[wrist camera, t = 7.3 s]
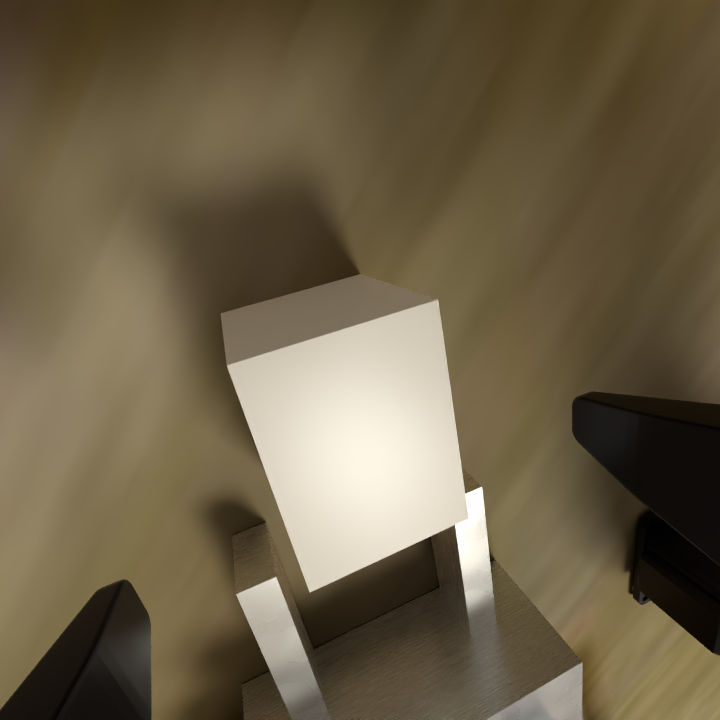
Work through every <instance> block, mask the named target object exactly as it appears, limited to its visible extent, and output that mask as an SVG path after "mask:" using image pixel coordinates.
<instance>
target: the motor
mask: <svg viewBox="0 0 720 720" xmlns="http://www.w3.org/2000/svg"><path fill="white" fill-rule="evenodd" d="M462 474H463V481H464V488H465V495H466V502H467V509H468V517H469V519H466V520H464V521H462V522H460V523H458V524H456V525H454V526H451V527H449V528H447V529H445V530H443V531H441V532H439V533H436V534H434V535H432V536H431V542H432V548H433V553H434V559H435V565H436V570H437V576H438V582H439V588H437V589H435V590H433V591H431V592H429V593H427V594H425V595H423V596H421V597H419V598H417V599H415V600H413V601H411V602H409V603H407V604H405V605H403V606H401V607H398V608H396V609H394V610H392V611H390V612H388V613H386V614H384V615H382V616H380V617H378V618H376V619H374V620H372V621H370V622H368V623H366V624H364V625H362V626H360V627H358V628H356V629H354V630H352V631H350V632H348V633H346V634H344V635H342V636H340V637H338V638H335V639H333V640H331V641H329V642H327V643H325V644H323V645H321V646H319V647H317V648H315V649H313V647H312V645H311V642H310V639H309V637H308V634H307V631H306V629H305V626H304V623H303V620H302V618H301V615H300V612H299V610H298V607H297V604H296V602H295V599H294V596H293V594H292V591H291V588H290V585H289V583H288V580H287V577H286V575H285V572H284V569H283V567H282V564H281V561H280V559H279V556H278V553H277V550H276V548H275V545H274V542H273V540H272V537H271V534H270V532H269V529H268V526H267V523H266V522H265V523H262V524H260V525H257V526H255V527H252V528H250V529H247V530H245V531H242V532H240V533H237V534H235V535H232V543H233V558H234V572H235V587H236V595H237V598H238V600H239V602H240V604H241V607H242V609H243V611H244V613H245V616H246V618H247V620H248V622H249V625H250V627H251V629H252V631H253V634H254V636H255V638H256V640H257V642H258V645H259V647H260V649H261V651H262V654H263V656H264V658H265V660H266V663H267V665H268V667H269V669H270V671H268V672H266V673H264V674H262V675H260V676H258V677H256V678H254V679H252V680H250V681H248V682H246V683H244V684H242V695H243V710H244V720H582V661H581V660H580V659H579V657H578V656H577V655H576V654H575V653H574V651H573V650H572V649H571V648H570V647H569V646H568V644H567V643H566V642H565V641H564V640H563V639H562V637H561V636H560V635H559V634H558V633H557V631H556V630H555V629H554V628H553V627H552V626H551V624H550V623H549V622H548V621H547V620H546V619H545V617H544V616H543V615H542V614H541V613H540V611H539V610H538V609H537V608H536V607H535V606H534V604H533V603H532V602H531V601H530V600H529V599H528V597H527V596H526V595H525V594H524V593H523V592H522V590H521V589H520V588H519V587H518V586H517V584H516V583H515V582H514V581H513V580H512V579H511V577H510V576H509V575H508V574H507V573H506V572H505V570H504V569H503V568H502V567H501V566H500V564H499V563H498V562H497V561H496V560H494V561H492V562H490V557H489V548H488V538H487V529H486V519H485V510H484V501H483V491H482V486H481V485H480V484H479V483H478V482H477V481H475V480H474V479H473V478H472V477H471V476H470V475H469V474H468V473H467V472H466V471H465V470H464V469H463V468H462Z"/></svg>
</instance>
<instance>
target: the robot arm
mask: <svg viewBox="0 0 720 720" xmlns="http://www.w3.org/2000/svg"><path fill="white" fill-rule="evenodd" d="M572 432H573V435H574V437H575V439H576V440H577V441H578V443H579V444H580V445H582V446H583V447H584V448H585V449H586V450H587V451H588V452H589V453H590V454H591V455H592V456H593V457H594V458H595V459H596V460H597V461H598V462H599V463H600V464H601V465H602V466H603V467H604V468H605V469H606V470H607V471H608V472H609V473H610V474H612V475H613V476H614V477H615V478H616V479H617V480H618V481H619V482H620V483H621V484H622V485H623V486H624V487H625V488H626V489H627V490H628V491H629V492H630V493H632V494H633V495H634V496H635V497H636V498H637V499H638V500H640V501H641V502H642V503H643V504H644V505H646V506H647V507H648V508H649V509H651V510H652V512H650V513H648V514H646V515H644V516H643V517H642V518H641V520H640V521H639V524H638V535H637V548H636V561H635V574H634V587H633V598H634V599H635V600H636V601H637V602H638V603H639V604H641V605H643V604H646V603H647V602H649V601H652V602H653V603H655V604H656V605H657V606H658V607H659V608H660V609H662V610H663V611H664V612H665V613H666V614H667V615H669V616H670V617H671V618H672V619H673V620H675V621H676V622H677V623H678V624H679V625H680V626H682V627H683V628H684V629H685V630H686V631H687V632H689V633H690V634H691V635H692V636H693V637H694V638H696V639H697V640H698V641H699V642H700V643H701V644H703V645H704V646H705V647H706V648H707V649H709V650H710V651H711V652H712V653H714V654H716V655H720V405H719V404H709V403H700V402H690V401H680V400H670V399H661V398H651V397H641V396H631V395H622V394H612V393H602V392H588V393H586V394H583V395H581V396H578V397H576V398H575V399H574V401H573V403H572ZM151 715H152V709H151V624H150V618H149V615H148V612H147V610H146V608H145V607H144V605H143V603H142V601H141V600H140V598H139V596H138V595H137V593H136V591H135V589H134V588H133V586H132V584H131V583H130V582H129V581H128V580H120V581H117V582H115V583H112V584H110V585H107V586H105V587H102V588H100V589H99V590H97V591H96V592H95V593H94V595H93V596H92V597H91V598H90V599H89V601H88V602H87V603H86V604H85V606H84V607H83V608H82V609H81V611H80V612H79V613H78V614H77V616H76V617H75V618H74V619H73V621H72V622H71V623H70V624H69V625H68V627H67V628H66V629H65V630H64V632H63V633H62V634H61V635H60V637H59V638H58V639H57V640H56V642H55V643H54V644H53V645H52V646H51V648H50V649H49V650H48V651H47V653H46V654H45V655H44V656H43V658H42V659H41V660H40V661H39V663H38V664H37V665H36V666H35V668H34V669H33V670H32V671H31V672H30V674H29V675H28V676H27V677H26V679H25V680H24V681H23V682H22V684H21V685H20V686H19V687H18V689H17V690H16V691H15V692H14V693H13V695H12V696H11V697H10V698H9V700H8V701H7V702H6V703H5V705H4V706H3V707H2V708H1V710H0V720H151Z"/></svg>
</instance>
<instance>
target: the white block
mask: <svg viewBox="0 0 720 720" xmlns="http://www.w3.org/2000/svg"><path fill="white" fill-rule="evenodd" d="M221 322H222V330H223V338H224V347H225V355H226V364H227V368H228V370H229V373H230V376H231V379H232V381H233V384H234V387H235V390H236V392H237V395H238V398H239V400H240V403H241V406H242V409H243V411H244V414H245V417H246V420H247V422H248V425H249V428H250V431H251V433H252V436H253V439H254V441H255V444H256V447H257V450H258V452H259V455H260V458H261V461H262V463H263V466H264V469H265V472H266V474H267V477H268V480H269V483H270V485H271V488H272V491H273V493H274V496H275V499H276V502H277V504H278V507H279V510H280V513H281V515H282V518H283V521H284V524H285V526H286V529H287V532H288V534H289V537H290V540H291V543H292V545H293V548H294V551H295V554H296V556H297V559H298V562H299V565H300V567H301V570H302V573H303V576H304V578H305V581H306V584H307V586H308V589H309V592H312V591H314V590H316V589H319V588H321V587H323V586H325V585H327V584H329V583H331V582H334V581H336V580H338V579H340V578H342V577H344V576H346V575H349V574H351V573H353V572H355V571H357V570H359V569H361V568H364V567H366V566H368V565H370V564H372V563H374V562H376V561H379V560H381V559H383V558H385V557H387V556H389V555H391V554H394V553H396V552H398V551H400V550H402V549H404V548H406V547H409V546H411V545H413V544H415V543H417V542H419V541H421V540H424V539H426V538H428V537H430V536H432V535H434V534H436V533H439V532H441V531H443V530H445V529H447V528H449V527H451V526H454V525H456V524H458V523H460V522H462V521H464V520H466V519H469V517H468V509H467V502H466V495H465V488H464V481H463V474H462V467H461V460H460V452H459V445H458V438H457V431H456V424H455V417H454V410H453V402H452V395H451V388H450V381H449V374H448V367H447V360H446V353H445V345H444V338H443V331H442V324H441V317H440V310H439V303H438V299H435V298H432V297H429V296H426V295H423V294H419V293H416V292H413V291H410V290H407V289H404V288H401V287H398V286H395V285H392V284H389V283H386V282H383V281H380V280H376V279H373V278H370V277H367V276H364V275H361V274H359V275H356V276H352V277H348V278H345V279H341V280H338V281H334V282H331V283H327V284H323V285H320V286H316V287H313V288H309V289H306V290H302V291H298V292H295V293H291V294H288V295H284V296H281V297H277V298H274V299H270V300H266V301H263V302H259V303H256V304H252V305H249V306H245V307H241V308H238V309H234V310H231V311H227V312H224V313H221Z"/></svg>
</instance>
